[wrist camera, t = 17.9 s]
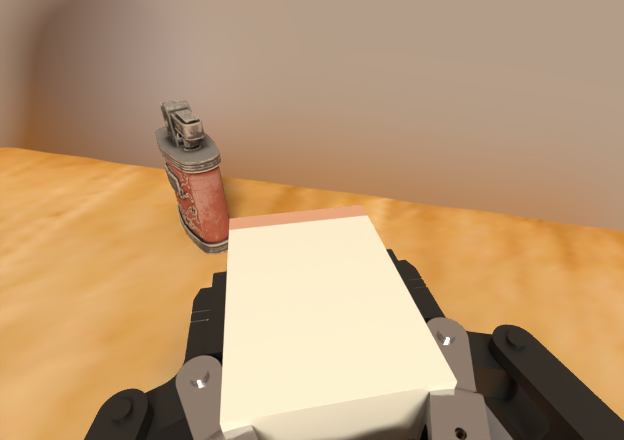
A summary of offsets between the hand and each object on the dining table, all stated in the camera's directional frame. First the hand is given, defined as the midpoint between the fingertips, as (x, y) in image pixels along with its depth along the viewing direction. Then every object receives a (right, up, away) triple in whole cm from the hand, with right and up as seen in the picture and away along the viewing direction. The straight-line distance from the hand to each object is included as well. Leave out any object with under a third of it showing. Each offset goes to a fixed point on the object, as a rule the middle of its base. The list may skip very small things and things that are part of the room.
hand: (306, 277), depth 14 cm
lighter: (-8, +2, +15) cm, 17 cm away
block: (+1, -5, -4) cm, 6 cm away
